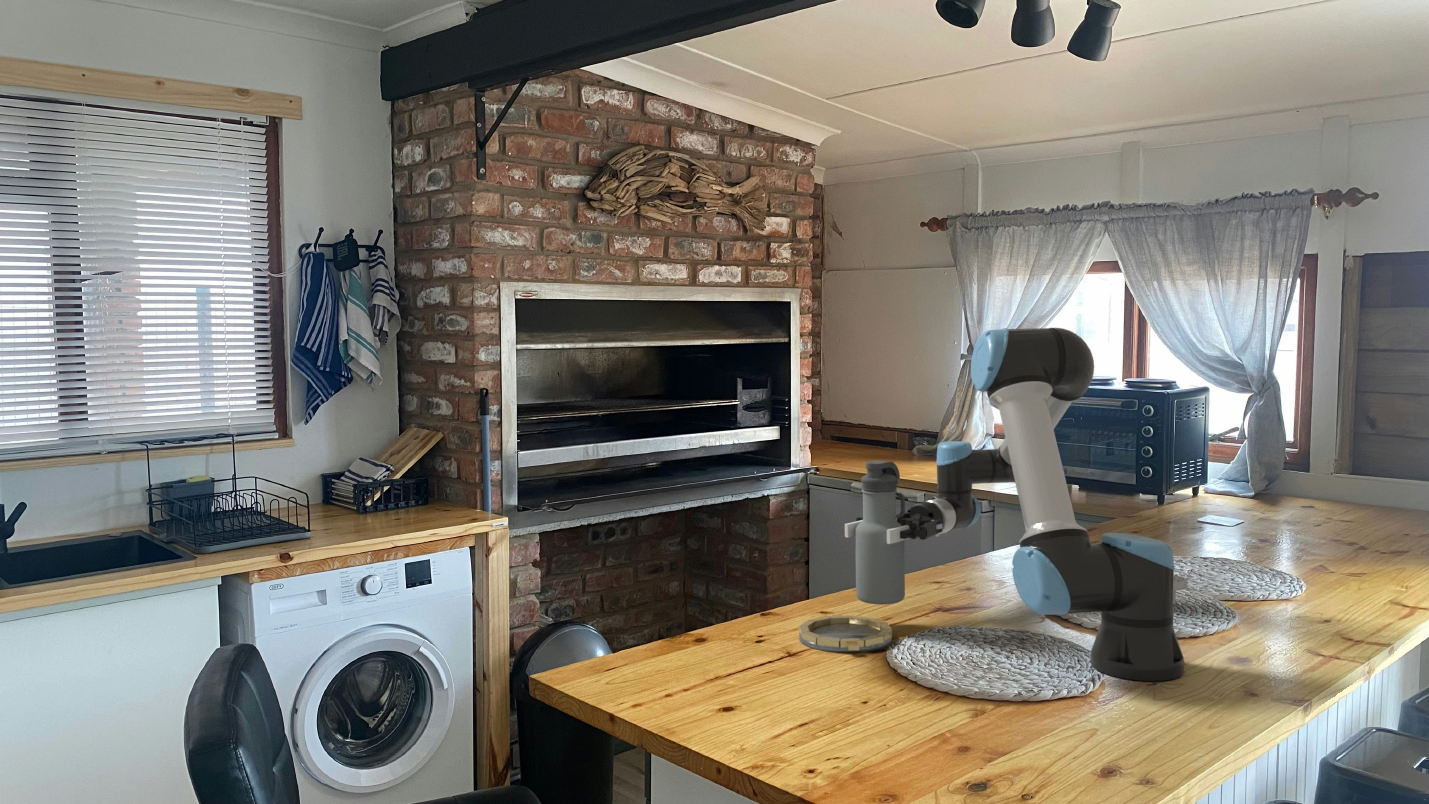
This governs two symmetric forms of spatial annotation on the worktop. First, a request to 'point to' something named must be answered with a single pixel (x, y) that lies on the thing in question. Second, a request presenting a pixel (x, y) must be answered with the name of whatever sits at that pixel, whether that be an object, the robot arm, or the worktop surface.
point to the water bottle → (879, 537)
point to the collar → (845, 634)
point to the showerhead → (1179, 585)
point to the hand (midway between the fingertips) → (866, 533)
